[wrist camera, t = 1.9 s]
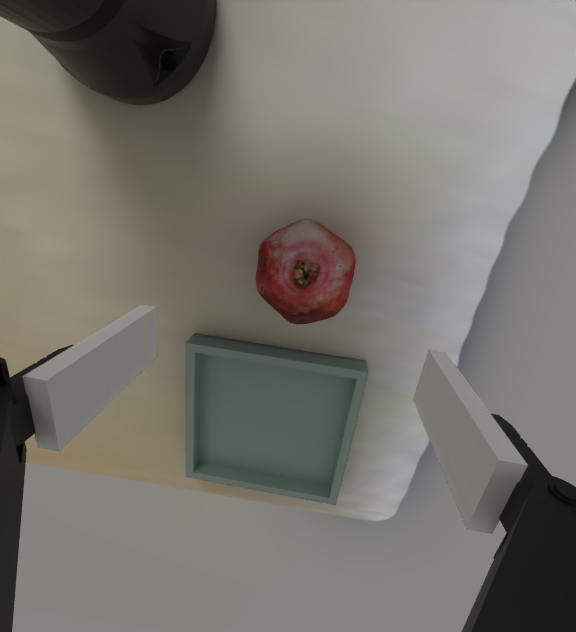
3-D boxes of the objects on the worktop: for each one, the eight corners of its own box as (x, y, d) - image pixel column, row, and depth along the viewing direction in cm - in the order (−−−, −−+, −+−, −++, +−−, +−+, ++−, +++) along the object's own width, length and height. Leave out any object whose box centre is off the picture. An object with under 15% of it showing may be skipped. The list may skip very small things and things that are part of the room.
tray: (194, 333, 38) (186, 342, 36) (365, 360, 37) (368, 372, 34) (193, 462, 45) (185, 476, 43) (335, 488, 44) (335, 505, 42)
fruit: (305, 323, 36) (297, 369, 27) (245, 259, 34) (215, 285, 25) (372, 269, 33) (390, 300, 24) (311, 196, 31) (303, 199, 22)
